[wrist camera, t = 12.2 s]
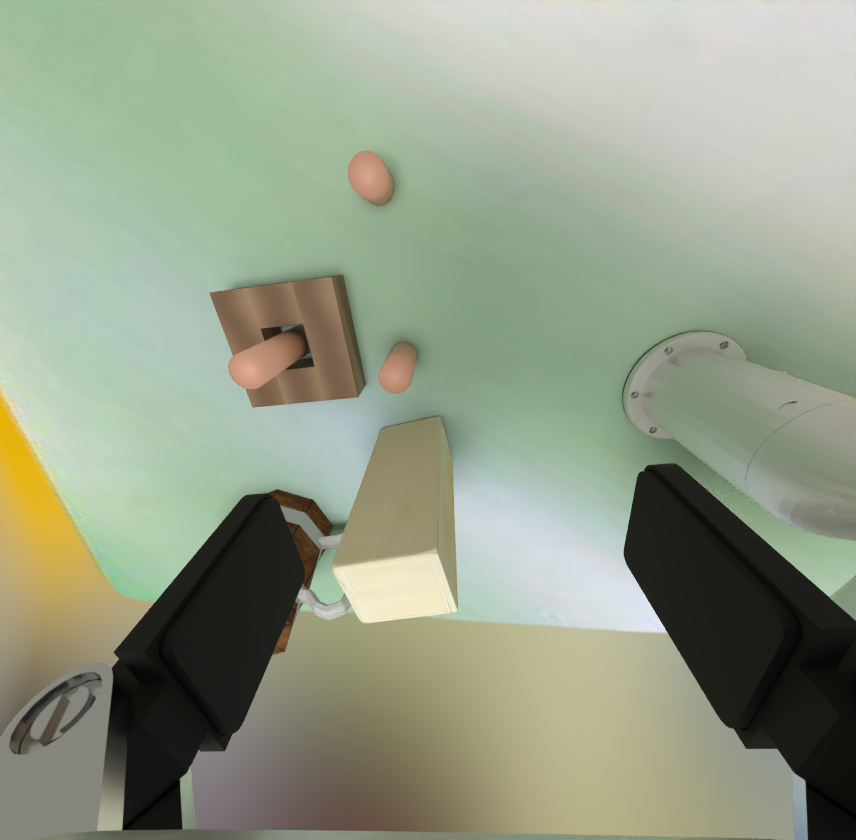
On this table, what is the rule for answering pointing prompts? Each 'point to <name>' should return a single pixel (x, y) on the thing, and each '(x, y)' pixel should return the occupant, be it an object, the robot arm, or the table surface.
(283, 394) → the hole block
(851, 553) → the table surface
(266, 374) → the pin long
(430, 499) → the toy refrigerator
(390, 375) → the pin medium
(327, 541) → the mug
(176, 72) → the table surface
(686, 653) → the robot arm
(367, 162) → the pin short
